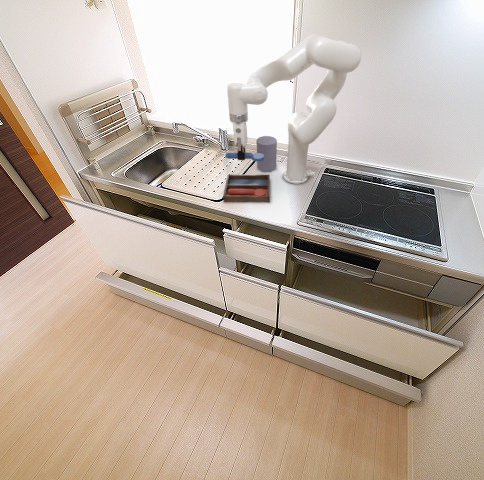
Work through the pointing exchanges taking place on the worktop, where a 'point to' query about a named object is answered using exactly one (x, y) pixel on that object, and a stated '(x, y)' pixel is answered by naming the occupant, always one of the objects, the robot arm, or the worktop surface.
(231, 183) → the cutlery tray
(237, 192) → the red spoon
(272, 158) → the container
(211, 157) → the worktop surface
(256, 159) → the blue spoon
